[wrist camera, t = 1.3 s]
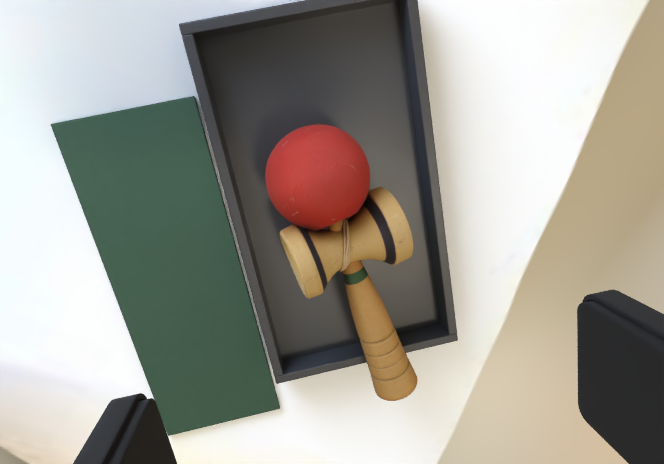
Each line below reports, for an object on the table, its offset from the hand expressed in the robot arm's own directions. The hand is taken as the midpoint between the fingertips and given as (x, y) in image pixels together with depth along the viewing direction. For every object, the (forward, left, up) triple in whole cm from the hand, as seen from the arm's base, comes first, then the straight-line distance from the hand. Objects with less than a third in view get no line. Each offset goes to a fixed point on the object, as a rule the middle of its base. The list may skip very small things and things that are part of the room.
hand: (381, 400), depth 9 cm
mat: (+3, -10, -20) cm, 23 cm away
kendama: (+4, +2, -19) cm, 19 cm away
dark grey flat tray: (0, +2, -20) cm, 20 cm away
